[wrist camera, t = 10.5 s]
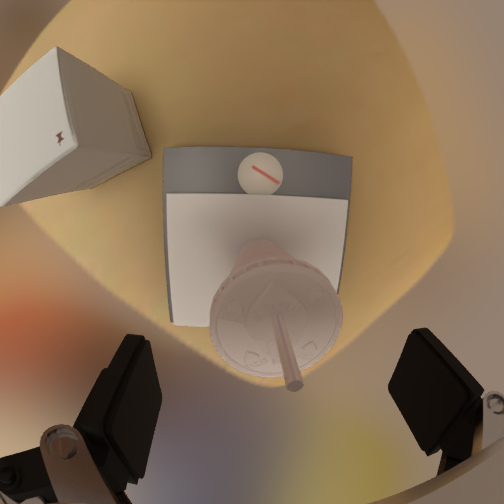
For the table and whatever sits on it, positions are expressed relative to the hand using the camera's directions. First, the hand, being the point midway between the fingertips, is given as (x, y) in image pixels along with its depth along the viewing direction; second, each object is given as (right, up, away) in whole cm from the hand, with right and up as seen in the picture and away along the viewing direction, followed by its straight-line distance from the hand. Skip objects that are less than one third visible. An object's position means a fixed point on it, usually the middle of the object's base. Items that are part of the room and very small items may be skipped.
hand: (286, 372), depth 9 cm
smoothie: (-1, +3, +13) cm, 13 cm away
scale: (-1, +6, +16) cm, 17 cm away
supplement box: (-15, +15, +13) cm, 24 cm away
